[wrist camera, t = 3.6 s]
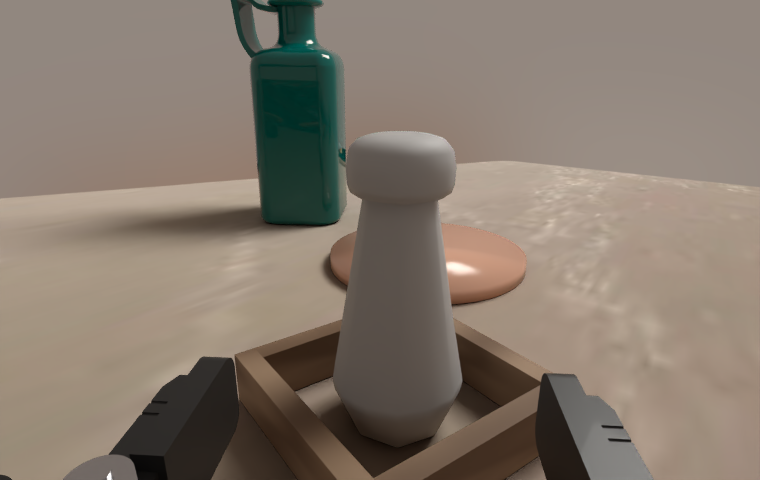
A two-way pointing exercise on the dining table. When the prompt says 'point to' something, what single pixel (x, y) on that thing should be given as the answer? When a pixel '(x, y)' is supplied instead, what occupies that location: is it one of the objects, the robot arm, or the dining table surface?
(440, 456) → the brown wooden square frame
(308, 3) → the pitcher
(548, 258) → the dining table surface
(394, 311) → the salt shaker
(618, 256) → the dining table surface
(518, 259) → the terracotta pad
